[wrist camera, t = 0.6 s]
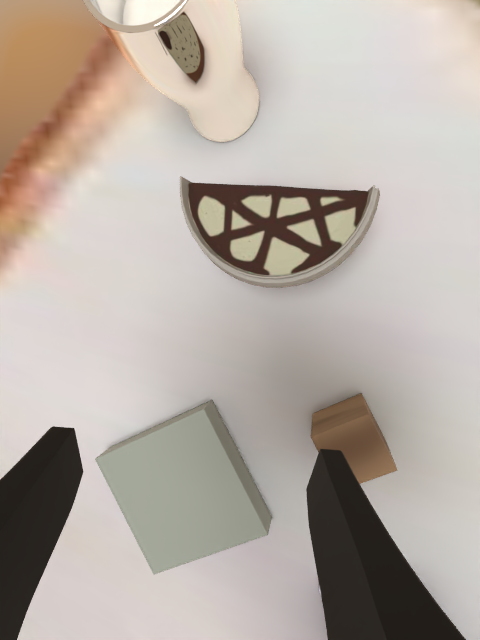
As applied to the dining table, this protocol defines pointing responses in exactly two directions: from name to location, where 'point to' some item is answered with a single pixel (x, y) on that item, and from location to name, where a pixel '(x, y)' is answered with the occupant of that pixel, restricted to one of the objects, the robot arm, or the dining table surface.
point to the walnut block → (353, 437)
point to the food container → (276, 229)
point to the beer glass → (187, 57)
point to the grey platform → (185, 489)
